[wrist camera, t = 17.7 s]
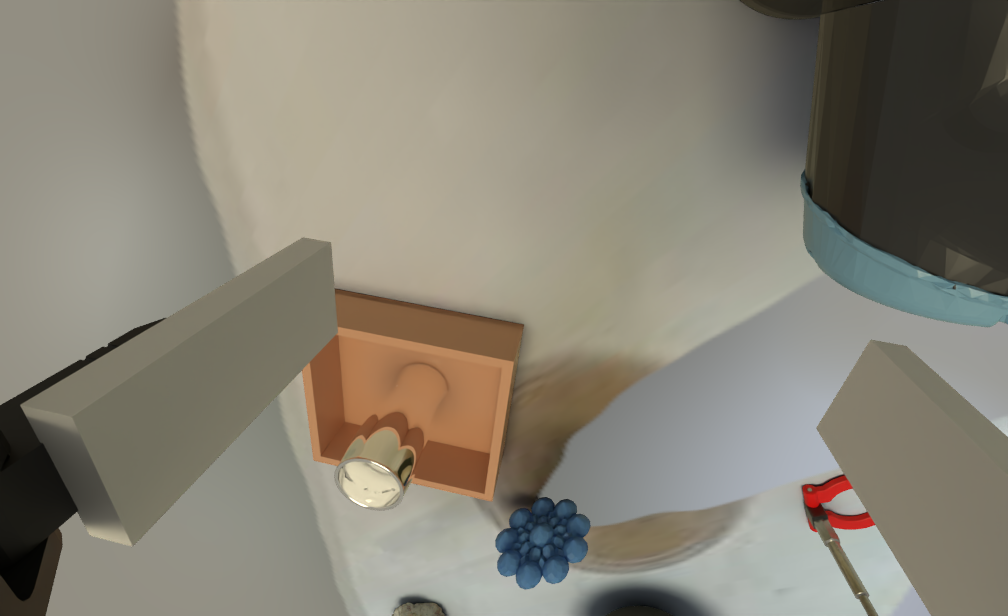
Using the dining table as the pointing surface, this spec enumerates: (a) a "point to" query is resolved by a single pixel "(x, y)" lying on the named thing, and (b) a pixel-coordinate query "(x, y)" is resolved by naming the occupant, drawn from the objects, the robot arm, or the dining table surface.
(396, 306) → the open box
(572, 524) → the grapes
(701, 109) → the dining table surface
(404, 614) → the seashell
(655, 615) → the coal bowl
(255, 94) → the dining table surface
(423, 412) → the beer glass
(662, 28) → the dining table surface
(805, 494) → the tow hook
